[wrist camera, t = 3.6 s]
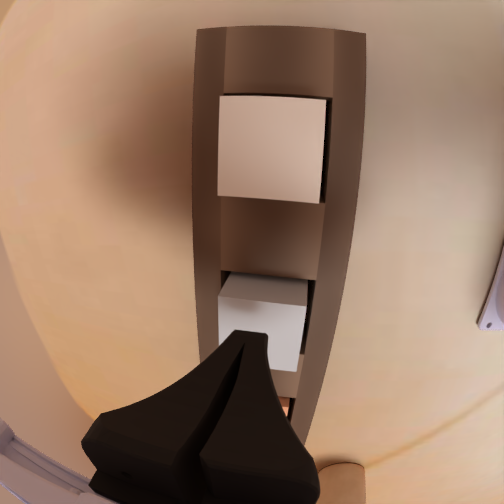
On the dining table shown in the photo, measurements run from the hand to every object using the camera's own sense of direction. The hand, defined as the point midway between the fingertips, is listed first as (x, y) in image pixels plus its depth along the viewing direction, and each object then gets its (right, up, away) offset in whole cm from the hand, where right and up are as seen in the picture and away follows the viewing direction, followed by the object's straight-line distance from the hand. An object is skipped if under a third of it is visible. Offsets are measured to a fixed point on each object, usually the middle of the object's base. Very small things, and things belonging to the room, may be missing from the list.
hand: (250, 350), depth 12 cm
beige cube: (+1, +9, +3) cm, 10 cm away
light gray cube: (+1, +1, +6) cm, 7 cm away
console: (+1, +2, +8) cm, 9 cm away
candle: (+10, -21, +16) cm, 29 cm away
